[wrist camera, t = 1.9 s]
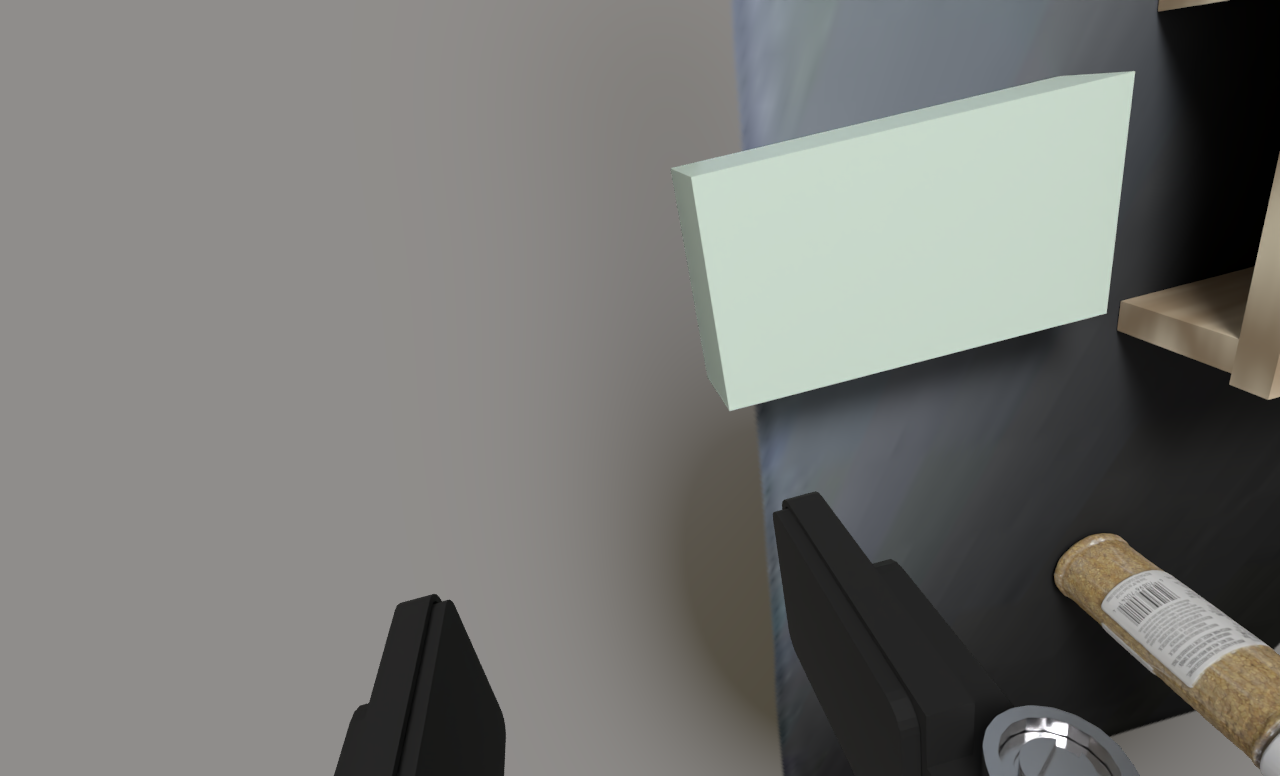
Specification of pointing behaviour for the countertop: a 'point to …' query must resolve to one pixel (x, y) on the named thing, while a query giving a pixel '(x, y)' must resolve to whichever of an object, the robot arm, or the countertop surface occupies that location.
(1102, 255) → the mint green block
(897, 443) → the countertop surface
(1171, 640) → the sprinkles bottle
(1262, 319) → the birch shelf
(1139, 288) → the countertop surface
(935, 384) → the countertop surface
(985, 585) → the countertop surface
